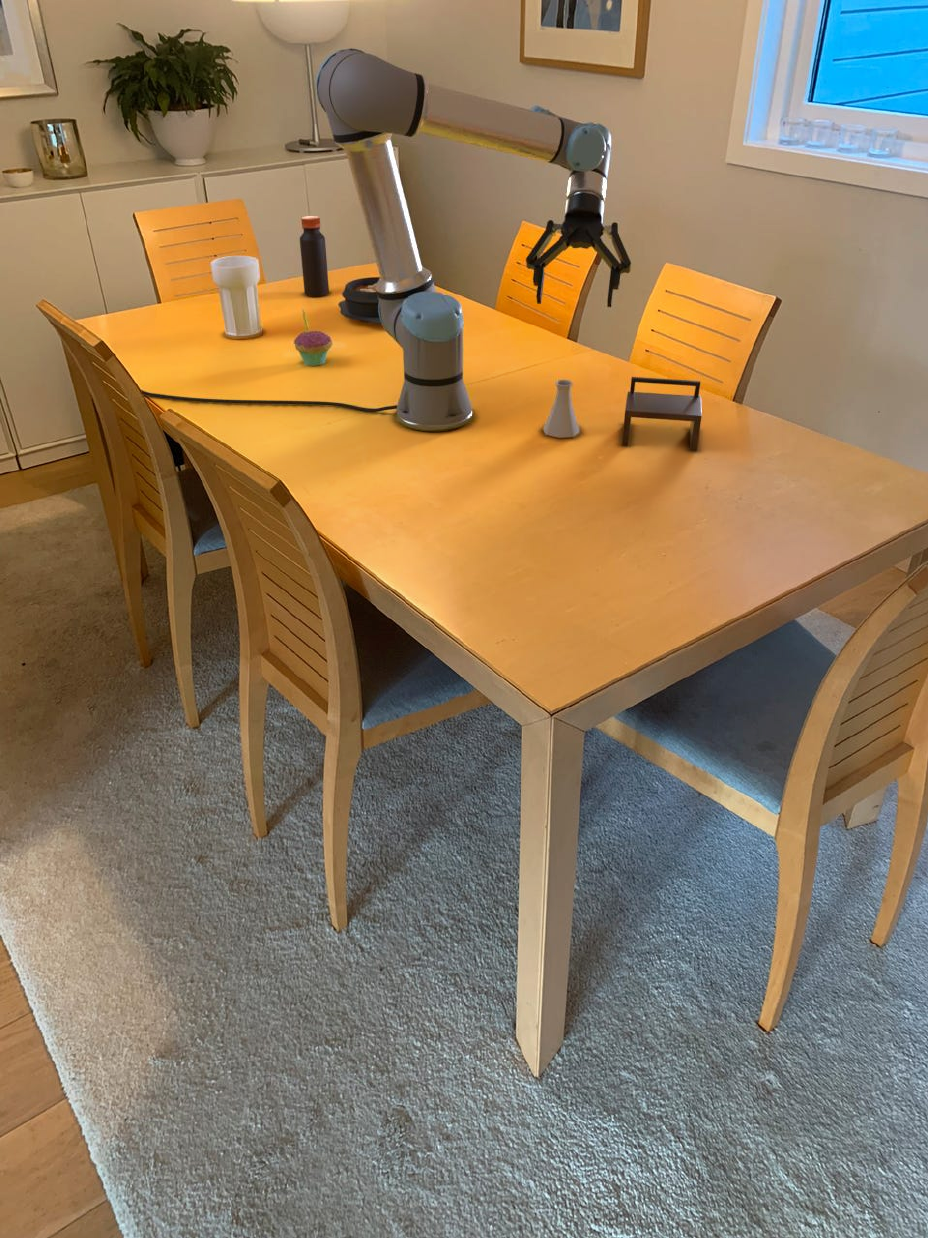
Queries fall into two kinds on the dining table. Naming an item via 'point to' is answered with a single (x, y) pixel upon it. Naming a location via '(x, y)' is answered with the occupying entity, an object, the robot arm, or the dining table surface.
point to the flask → (562, 413)
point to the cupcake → (312, 345)
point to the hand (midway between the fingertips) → (573, 301)
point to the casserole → (361, 300)
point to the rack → (664, 407)
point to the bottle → (313, 258)
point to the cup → (238, 295)
